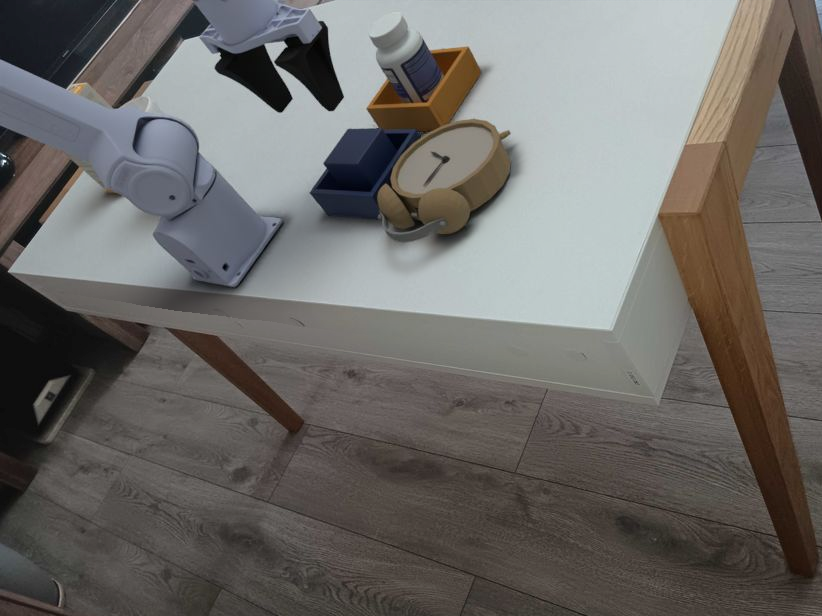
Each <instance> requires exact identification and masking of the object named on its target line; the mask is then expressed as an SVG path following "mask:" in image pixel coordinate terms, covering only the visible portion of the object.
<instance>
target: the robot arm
mask: <svg viewBox="0 0 822 616" xmlns="http://www.w3.org/2000/svg"><path fill="white" fill-rule="evenodd" d="M192 2H193V3H194V5H195V6H196V7H197V8H198V10H199V11H200V12H201V13H202V15H203V16H204V17H205V19H206V20H207V21H208V23H209V25H208V26H207V27H206V28H205V30H204V31H203V32H202V33H201V34H200V35H199V37H198V38H199V39H200V40H201V42H202V43H203V44H204V46H205V47H206V48H207V50H208V52H210V53H211V54H212V55H214V54H219V57H220V59H219V60H218V61H217V62H216V63H215V65H214V70H215V71H216V73H217V74H219V75H222V76H224V77H226V78H228V79H230V80H232V81H234V82H236V83H238V84H239V85H241V86H242V87H244V88H245V89H247V90H249V91H250V92H251V93H252V94H254V95H255V96H256V97H258V98H259V99H260V100H261V101H262V102H264V103H265V104H266V105H267V106H268V107H270V108H271V109H272V110H274V111H275V112H276V113H277V114H281V113H283V112H284V111H285V110H286V108H287V107H288V106H289V104H291V102H292V101H293V100H294V98H293V96H292V93H291V91H290V89H289V87H288V86H287V84H286V82H285V80H284V79H283V78H282V77H281V75H280V73H279V72H278V70H277V67H279V68H280V69H282V70H284V71H285V72H287V73H289V74H290V75H291V76H292V77H294V78H295V79H296V80H297V81H299V82H300V83H301V84H302V85H303V86H304V87H305V88H306V89H307V90H308V92H309V93H310V94H311V95H312V97H314V99H315V100H316V101H317V102H318V103H319V104H320V105H321V107H323V108H324V110H326V111H327V112H335V110H336V109H337V108H338V107H339V105H340V104H341V102H342V101H343V100H344V99H345V94H344V93H343V89H342V87H341V84H340V81H339V79H338V76H337V73H336V70H335V66H334V64H333V63H334V62H333V60H332V55H331V49H330V41H329V27H328V25H327V24H326V23H325V21H324V20H318V19H317V18H316V16H315V14H314V13H313V11H312V10H311V8H297V7H293V6H290V5H287V4H285V2H286V0H192ZM282 42H283V43H284V45H286V46H285V47H284V49H283V50H282V51H281V52H280V54H279V55H278V56H277V57H276V58H275V59H274V60H273V61H272V59H271V57H270V54H269V52H268V49H267V47H266V45H265V44H273V43H282ZM66 89H67V88H64V87H62V86H60V85H57V84H55V83H53V82H51V81H49V80H47V79H44V78H43V77H40V76H38V75H35V74H34V73H31V72H29V71H27V70H25V69H22V68H20V67H18V66H16V65H13V64H12V63H9V62H7V61H5V60H2V59H0V127H3V128H5V129H8V130H10V131H12V132H15V133H17V134H19V135H21V136H25V137H27V138H29V139H32V140H34V141H36V142H39V143H41V144H44V145H46V146H49V147H50V148H53V149H55V150H59V151H61V152H62V151H63V152H65V153H68V154H70V155H73V156H75V157H78V158H80V159H82V160H85V161H87V162H89V163H90V164H91V165H92V167H93V168H94V170H95V171H96V173H97V175H98V176H99V178H100V179H101V181H102V183H103V184H104V186H105V187H106V188H107V189H109V190H112V191H114V192H116V193H115V194H119V195H121V196H122V197H124V198H125V199H127V200H128V202H130V203H131V204H132V205H133V206H134V207H135V208H136V209H138V210H140V211H141V212H143V213H145V214H148V215H151V216H155V217H159V219H158V222H157V225H156V227H155V229H154V230H153V231H152V236H153V238H154V240H155V241H156V243H157V244H158V245H159V246H160V247H161V248H162V249H163V250H164V251H165V252H166V253H168V254H169V255H170V256H171V258H173V259H175V261H176V262H177V263H179V264H180V265H181V266H182V267H183V268H184V269H186V270H187V272H189V273H190V274H191V275H192V278H193V280H195V281H199V282H203V283H210V284H215V285H219V286H225V287H230V288H236V287H237V286H239V284H240V282H241V281H242V280H243V278H244V277H245V276H246V275H247V273H248V272H249V270H250V269H251V267H252V266H253V265H254V263H255V262H256V260H257V259H258V258H259V256H260V254H261V253H262V252H263V251H264V249H265V248H266V246H267V245H268V244H269V242H270V241H271V240H272V238H273V237H274V235H275V234H276V233H277V231H278V230H279V228H280V227H281V225H282V224H283V220H282V218H280V217H272V216H262V215H259V214H258V213H257V212H256V211H255V210H254V209H253V208H252V207H251V205H250V204H249V203H248V202H247V201H246V200H245V198H243V197H242V196H241V194H240V193H239V192H238V191H237V190H236V189H235V188H234V186H232V185H231V184H230V183H229V181H228V180H227V179H226V178H225V177H224V176H223V175H222V174H221V173H220V172H219V171H218V169H216V168H215V167H214V165H213V164H212V163H211V162H210V161H209V160H207V159H206V158H205V157H204V156H203V155H202V154H201V152H200V142H199V137H198V135H197V133H196V132H195V130H194V128H193V127H192V126H191V125H190V124H188V123H187V122H186V121H185V120H183V119H181V118H180V117H177V116H174V115H169V114H166V115H163V114H151V113H148V112H145V111H143V110H140V109H138V108H136V107H125V108H120V107H119V108H113V109H108V108H106V107H104V106H101V105H99V104H97V103H95V102H93V101H90V100H88V99H86V98H84V97H82V96H79V95H77V94H75V93H73V92H71V91H68V90H66ZM63 152H62V153H63Z"/></svg>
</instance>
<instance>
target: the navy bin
mask: <svg viewBox="0 0 822 616" xmlns="http://www.w3.org/2000/svg"><path fill="white" fill-rule="evenodd" d="M383 131H384V132H385V134H386V135H387V137H388V138H389V140H390V141H391V143H392V144H393V146H394V147H395V149H396V150H397V153H396V154H395V156H394V157H393V159H392V160H391V162H390V163H389V165H388V166H387V168H386V169H385V171H384V172H383V174H382V175H381V177H380V178H379V180H378V181H377V183H376V184H375V186H374V187H373V189H372V190H371V192H360V191H344V190H343V189H342V187H341V186H340V185H339V183H338V182H337V181H336V180H335V178H334V177H333V176H332V174H331V173H330V172H329V171H328V169H327V168H326V167H325V168H326V169H324V170H323V173H322V174H321V175H320V177H319V178H318V179H317V181H316V183H315V184H314V186H312V188H311V189H310V191H309V195H310V196H311V197H312V198H313V200H314V201H315V202H316V203H317V204H318V205H319V207H320V208H321V209H322V210H323V212H324V213H325V214H326V215H327V216H335V217H347V218H356V219H357V218H358V219H370V220H379V218H378V215H379V214H380V212H379V210H380V208H379V205H378V201H377V196H378V192H379V190H380V188H381V187H382V186H383V185H384V184H387V185H388V186H389V187H390V188H391V189H392V190H393V188H392V184H391V179H390V178H391V174H392V171H393V167H394V165H395V164H396V162H397V161H398V159H399V158H400V156H401V155H402V154H403V153H404V152H405V151H406V150H407V149H408V148H409V147H410V146H411V145H412V144H413V143H414V142H416V141H417V140H419V139H420V138H421V137H422V135H421V134H420V131H418V130H417V129H394V130H383ZM393 191H394V190H393ZM394 192H395V191H394ZM395 194H396V195H397V193H396V192H395ZM397 196H398V195H397ZM398 198H399V197H398ZM399 199H400V198H399ZM380 211H381V210H380ZM381 213H382V212H381ZM385 219H386V218H385ZM386 220H387V219H386ZM387 221H388V220H387Z"/></svg>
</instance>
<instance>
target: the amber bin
mask: <svg viewBox="0 0 822 616" xmlns="http://www.w3.org/2000/svg"><path fill="white" fill-rule="evenodd" d="M429 50H430V52H431V54H432V56H433V57H434V59H435V61H436V63H437V65H438V66H439V68H440V70H441V72H442V73H443V75H444V78H443V79H442V81H441V82H440V84H439V85H438V87H437V88H436V90H435V91H434V93H433V94H432V96H431V97H430V99H429V100H428V102H427V103H405V104H403V102H402V101H401V99H400V98H399V96H398V94H397V93H396V91H395V90H394V88H393V86H392V85H391V83H390V82H389V80H388V79H387V78H386V80H385V81H384V83H383V84H382V86H381V87H380V88H379V90H378V91H377V92H376V94H375V95H374V97H373V98H372V100H371V101H370V102H369V104H368V105H367V106H366V108H365V109H366V111H367V112H368V114H369V116H370V117H371V118H372V120H373V122H374V123H375V124H376V126H377V128H382V129H383V130H394V129H417V130H418V132H431V131H433V130H435V129H437V128H439V127H441V126H443V125H447V124H450V123H451V120H452V118H453V117H454V115H455V114H456V112H457V111H458V109H459V108H460V107H461V105H462V103H463V102H464V100H465V99H466V97H467V95H468V94H469V92H471V89H472V88H473V86H475V83H476V81H477V80H478V78H479V77H480V76H481V74H482V69H481V68H480V66H479V64H478V62H477V60H476V58H475V56H474V54H473V52H472V51H471V48H470V46H458V47H449V48H438V49H429Z"/></svg>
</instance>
